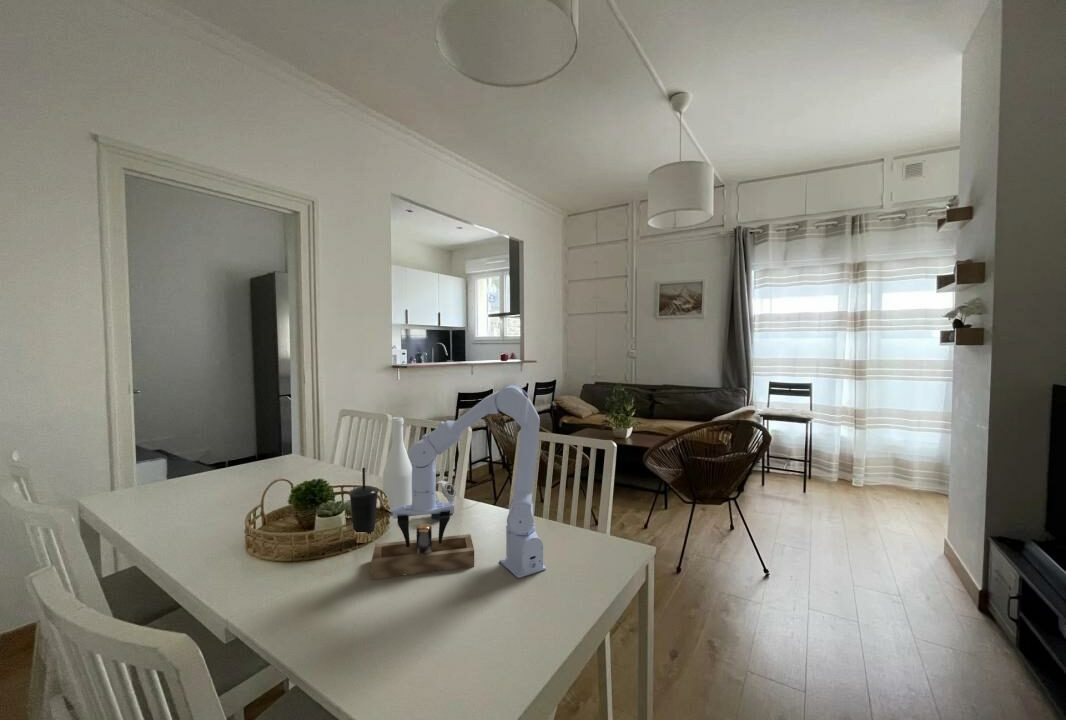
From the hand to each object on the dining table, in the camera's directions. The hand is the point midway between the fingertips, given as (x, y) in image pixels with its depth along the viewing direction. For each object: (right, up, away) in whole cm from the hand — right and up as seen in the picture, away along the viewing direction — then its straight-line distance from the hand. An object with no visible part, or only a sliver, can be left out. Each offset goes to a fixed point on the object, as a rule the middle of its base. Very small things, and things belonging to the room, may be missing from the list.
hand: (424, 543), depth 105 cm
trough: (0, -5, 0) cm, 5 cm away
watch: (-1, -4, +29) cm, 29 cm away
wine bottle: (-17, -4, +35) cm, 39 cm away
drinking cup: (-20, -5, +13) cm, 24 cm away
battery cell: (0, -4, 0) cm, 4 cm away
